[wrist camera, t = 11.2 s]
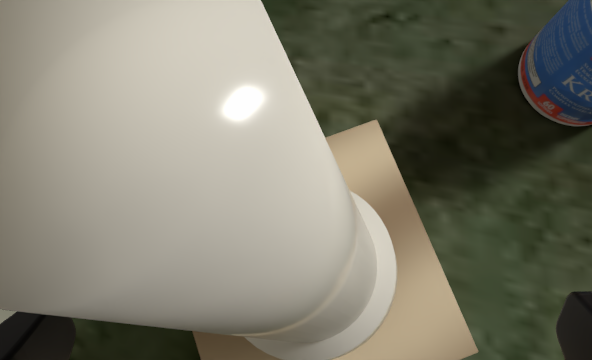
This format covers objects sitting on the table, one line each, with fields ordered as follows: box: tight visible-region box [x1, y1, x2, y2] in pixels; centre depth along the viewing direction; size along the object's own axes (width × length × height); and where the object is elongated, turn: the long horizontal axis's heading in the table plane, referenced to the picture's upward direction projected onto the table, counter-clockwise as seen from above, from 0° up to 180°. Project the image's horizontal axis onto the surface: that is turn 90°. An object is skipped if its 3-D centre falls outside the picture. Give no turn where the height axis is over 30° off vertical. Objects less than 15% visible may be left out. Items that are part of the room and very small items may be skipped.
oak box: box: [192, 120, 478, 360], centre depth 20 cm, size 10×10×4 cm
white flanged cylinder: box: [0, 0, 398, 360], centre depth 12 cm, size 6×6×13 cm
